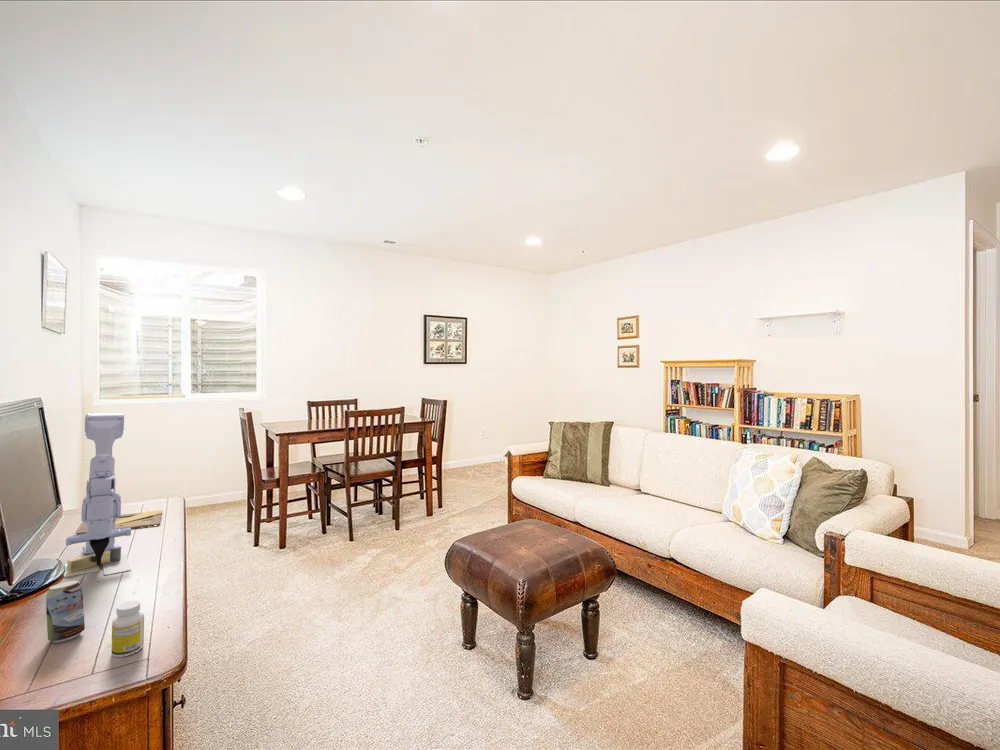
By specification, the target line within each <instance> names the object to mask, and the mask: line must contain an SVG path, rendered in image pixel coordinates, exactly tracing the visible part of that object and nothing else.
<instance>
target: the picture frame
mask: <svg viewBox="0 0 1000 750" xmlns="http://www.w3.org/2000/svg"><path fill="white" fill-rule="evenodd" d="M161 516H163V509H160V510H159V509H158V510H148V511H145V512H135V513H126V514H125V513H124V514H121V516H120V517H119V518H117V517H116V521H115V529H123V528H131V530H135V529H137V530H138V529H142V528H141V527H146V528H149V527H148V526H154V525H160V526H161V522H162V517H161ZM160 521H161V522H160ZM86 529H87V525H86V522H83V521H82V524H81V525H80V526H79V529H78V530H77V531H76V535H80V534H85V533H86Z"/></svg>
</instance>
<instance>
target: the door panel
mask: <svg viewBox="0 0 1000 750" xmlns="http://www.w3.org/2000/svg"><path fill="white" fill-rule="evenodd" d="M109 552H110V562H108V563H104V564H102V570H103V576H104V577H106V576H110V575H115V574H121V573H126V572H131V570H132V569H131V566H130V561H129V558H128V555H127V552H125V553H121V552H122V546H117V547H112V548H110V550H109ZM67 564H68V562H66V563H64V565H65V573H64V572H63V578H69V577H73V576H74V577H75V576H79V575H84V574H90V573H94V572H99V571H100V567H99V566H100V565H98V566H93V567H89V568H85V569H81V570H78V571H74V572H69V571H68V570H67Z"/></svg>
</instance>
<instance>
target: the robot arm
mask: <svg viewBox="0 0 1000 750" xmlns="http://www.w3.org/2000/svg"><path fill="white" fill-rule="evenodd" d="M124 430H125V414H124V413H123V412H120V413H86V414H85V417H84V432H85V436H86V439H87V440H91V441H93V442H94V446H95V455H94V456H93V457H92V458H91V459H90V463H89V475H88V476H89V477H88V480H87V479H86V480H87V481H86V485H85V487H86V489H85V491H86V492H85V493H86V494H85V495H86V496H84V498H83V499H82V504H81V514H80V516H81V517H80V519H81V522H82V523H83V522H86V525H87V529H86V533H85V534H80V535H77V534H76V535H73V536H66V537H65V546H71V545H74V544H81V543H82V544H83V543H84V544H83V554H84V555H89V554H93V553H95V555H96V557H97V561H96V564H97V566H101V565H102V564H101V558H102V555H103V553H104V551H105V550H107V551H110V548H112V547H118V546H117V542H116V539H115V538H118V537H119V538H120V537H124V536H125V537H129V536H132V529H131V528H123V529H115V521H116V517H117V518H119V517H120V516H121V515H122V513H121V511H122V499H121V498H122V495H120V493H119V492H117V491H116V481H117V479H116V476H115V474H116V473H115V464H116V463H115V462H116V461H115V460H116V459H115V457H114V456H113V446H114V443H115V441H116V440H118V439H121V438H123V435H124Z"/></svg>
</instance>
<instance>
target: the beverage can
mask: <svg viewBox="0 0 1000 750" xmlns="http://www.w3.org/2000/svg"><path fill="white" fill-rule="evenodd" d="M83 590H84V586H83V585H82V584H81V583H80V581H79V580H77V579H72V580H68V581H63V582H59V583H56V584H54V585H52V586H49V587H48V590H47V592H46V594H45V609H46V627H47V628H46V629H47V630H46V632H47V640H48V641H49V642H52V643H61V642H65V641H69V640H72V639H74V638H76V637H78V636H79V635H81V633H83V631H84V630H85V628H86V625H85V622H86V621H85V609H84V591H83Z"/></svg>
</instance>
